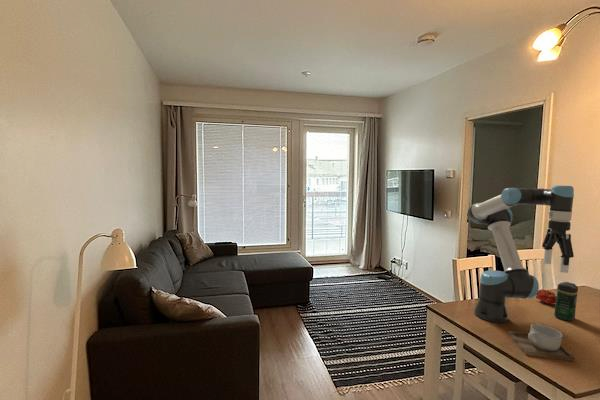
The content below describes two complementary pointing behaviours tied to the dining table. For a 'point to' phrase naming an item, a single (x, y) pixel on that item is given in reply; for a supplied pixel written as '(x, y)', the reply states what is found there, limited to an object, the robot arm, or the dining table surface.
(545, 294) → the dragon fruit
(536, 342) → the teacup
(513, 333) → the shallow tray
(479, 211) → the robot arm
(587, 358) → the dining table surface
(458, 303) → the dining table surface
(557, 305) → the coffee jar
